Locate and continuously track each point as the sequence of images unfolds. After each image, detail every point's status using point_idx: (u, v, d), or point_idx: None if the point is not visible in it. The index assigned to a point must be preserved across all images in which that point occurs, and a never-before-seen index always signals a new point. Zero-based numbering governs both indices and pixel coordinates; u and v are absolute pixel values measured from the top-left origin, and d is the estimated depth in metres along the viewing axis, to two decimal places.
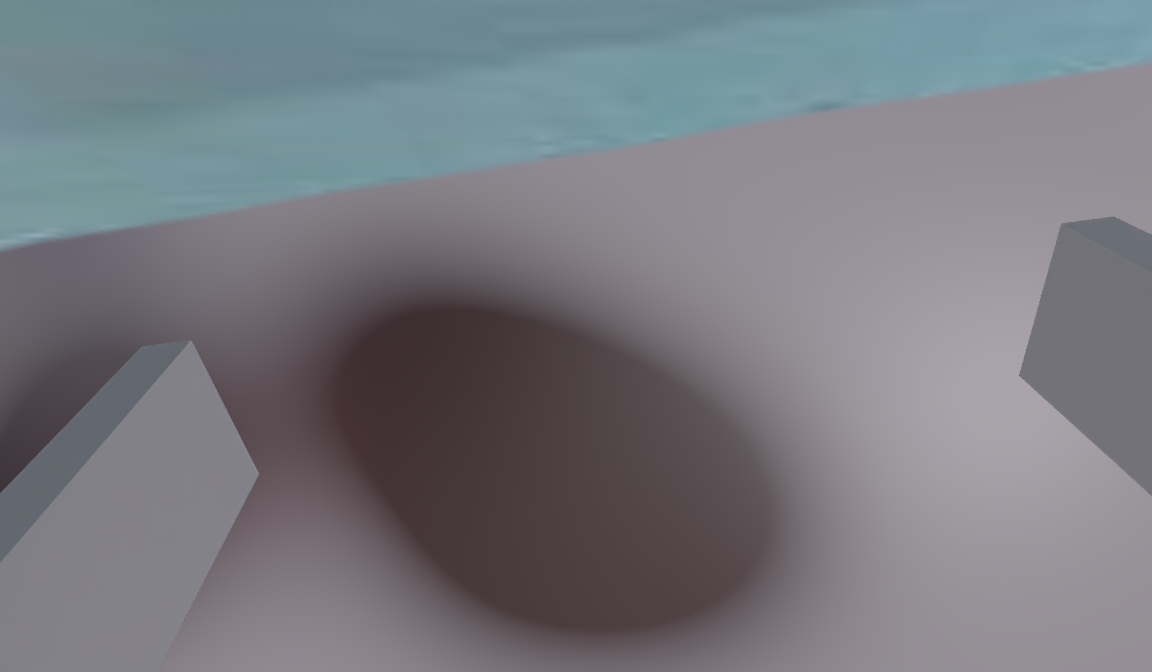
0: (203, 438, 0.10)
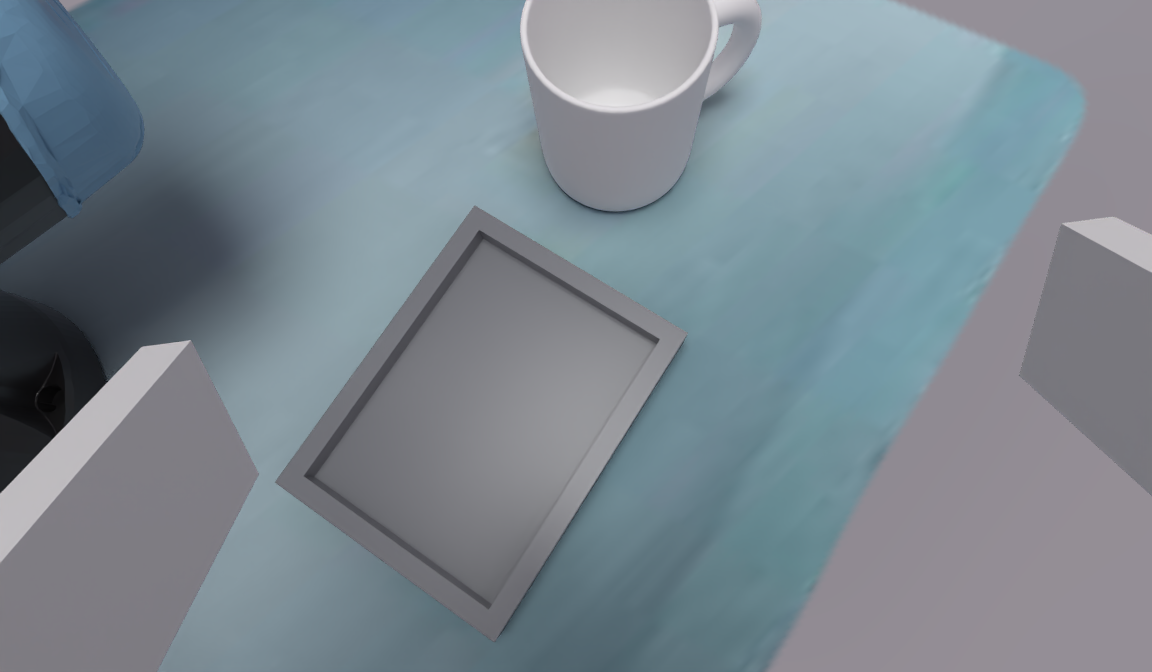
0: (203, 438, 0.10)
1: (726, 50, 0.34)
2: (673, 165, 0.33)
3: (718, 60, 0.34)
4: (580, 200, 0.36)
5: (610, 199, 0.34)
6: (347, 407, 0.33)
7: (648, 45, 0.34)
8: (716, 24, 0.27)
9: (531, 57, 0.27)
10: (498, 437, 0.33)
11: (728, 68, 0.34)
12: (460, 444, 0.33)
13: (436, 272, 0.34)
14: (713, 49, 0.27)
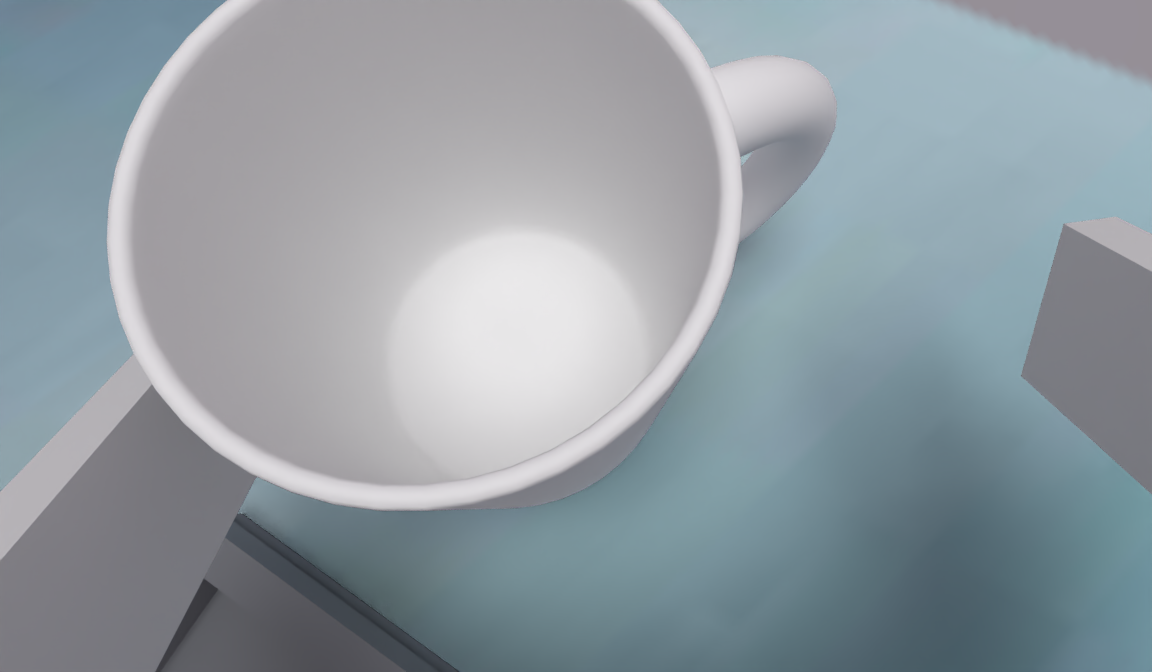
0: (201, 439, 0.10)
1: (743, 179, 0.15)
2: (625, 455, 0.14)
3: None
4: None
5: None
6: None
7: (569, 167, 0.15)
8: (736, 187, 0.08)
9: (129, 294, 0.08)
10: None
11: (748, 215, 0.15)
12: None
13: None
14: (728, 273, 0.08)
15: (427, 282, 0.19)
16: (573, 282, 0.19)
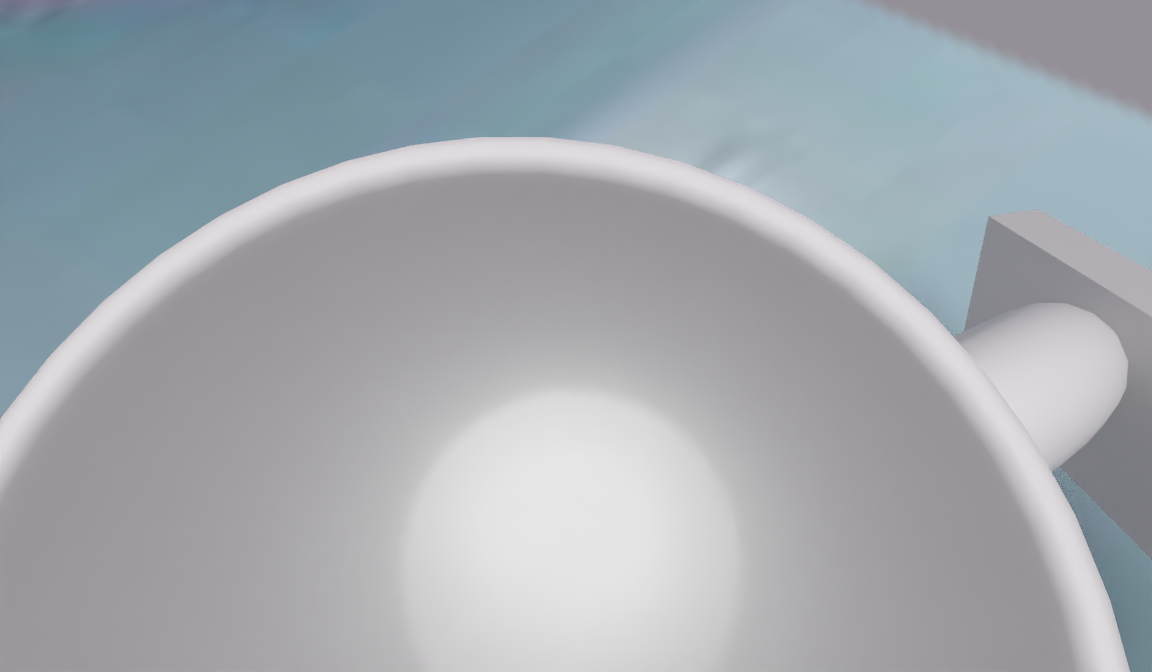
0: None
1: None
2: None
3: None
4: None
5: None
6: None
7: (662, 364, 0.11)
8: None
9: None
10: None
11: None
12: None
13: None
14: None
15: (454, 455, 0.15)
16: (644, 463, 0.14)
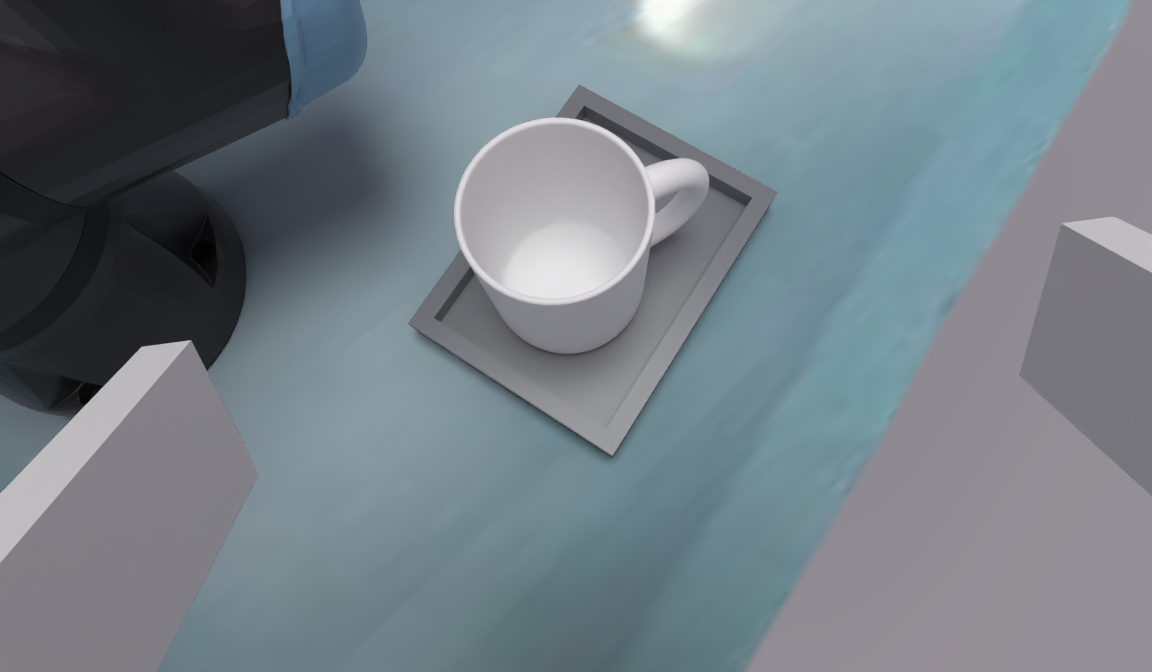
0: (203, 438, 0.10)
1: (676, 201, 0.33)
2: (619, 321, 0.32)
3: (669, 208, 0.34)
4: (529, 343, 0.35)
5: (557, 348, 0.34)
6: None
7: (597, 194, 0.33)
8: (652, 211, 0.27)
9: (463, 242, 0.27)
10: None
11: (679, 217, 0.34)
12: None
13: None
14: (648, 238, 0.26)
15: (523, 247, 0.37)
16: (597, 248, 0.37)
